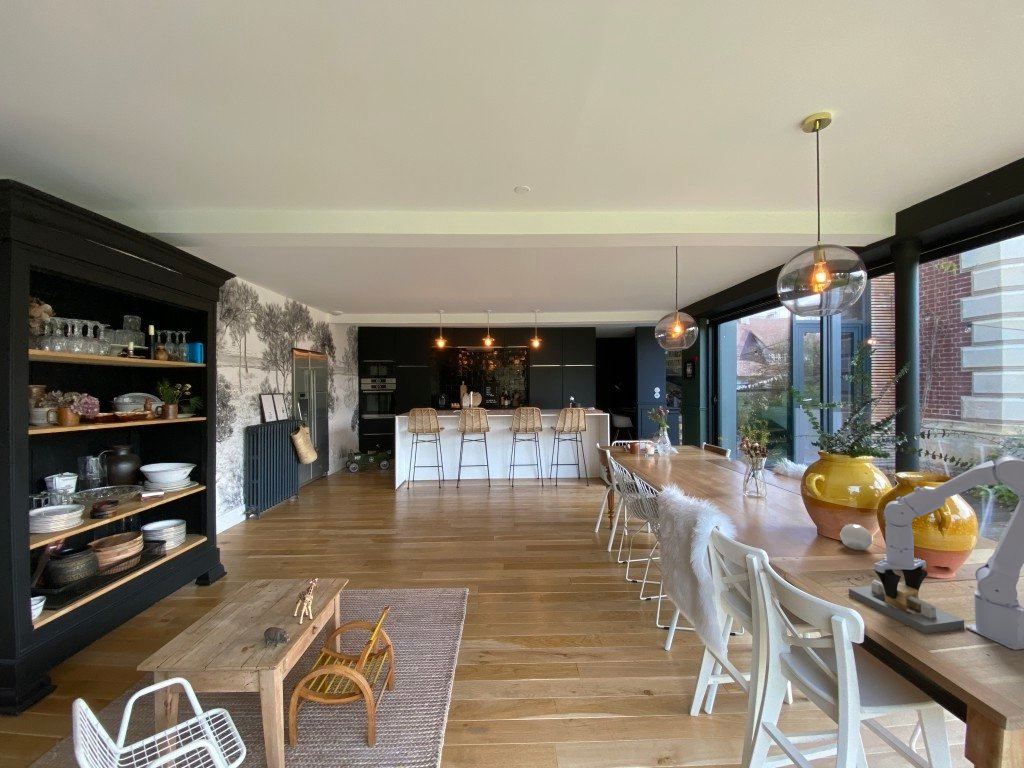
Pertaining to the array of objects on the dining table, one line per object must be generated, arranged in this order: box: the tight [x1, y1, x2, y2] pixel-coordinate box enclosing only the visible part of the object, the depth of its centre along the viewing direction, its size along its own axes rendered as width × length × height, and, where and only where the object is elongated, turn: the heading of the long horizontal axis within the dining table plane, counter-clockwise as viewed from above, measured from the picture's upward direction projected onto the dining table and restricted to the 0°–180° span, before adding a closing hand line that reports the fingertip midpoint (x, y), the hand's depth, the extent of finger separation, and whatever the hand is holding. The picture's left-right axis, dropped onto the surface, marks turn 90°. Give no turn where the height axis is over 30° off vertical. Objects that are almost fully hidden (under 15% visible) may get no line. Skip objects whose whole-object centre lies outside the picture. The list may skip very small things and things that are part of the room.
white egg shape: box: [838, 523, 873, 551], centre depth 161 cm, size 9×10×15 cm
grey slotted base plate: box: [848, 579, 965, 634], centre depth 116 cm, size 20×12×5 cm, turn 9°
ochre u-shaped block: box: [884, 581, 920, 612], centre depth 116 cm, size 5×5×5 cm
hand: (901, 595), depth 116 cm, fingers open, 6 cm apart
